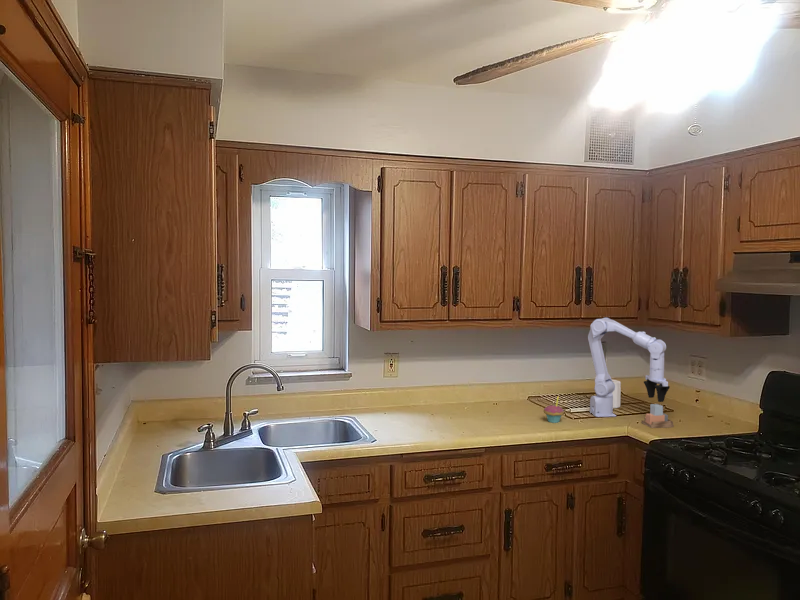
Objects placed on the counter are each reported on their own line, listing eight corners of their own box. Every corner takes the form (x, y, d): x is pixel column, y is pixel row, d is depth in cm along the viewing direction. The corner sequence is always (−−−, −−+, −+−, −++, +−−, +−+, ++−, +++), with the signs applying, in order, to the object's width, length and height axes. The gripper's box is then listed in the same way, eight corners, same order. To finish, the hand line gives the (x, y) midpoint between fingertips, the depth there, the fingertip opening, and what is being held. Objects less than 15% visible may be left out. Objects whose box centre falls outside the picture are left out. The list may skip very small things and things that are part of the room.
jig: (651, 428, 247) (651, 422, 247) (641, 422, 255) (641, 417, 255) (673, 427, 248) (673, 422, 248) (663, 422, 256) (663, 417, 256)
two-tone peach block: (649, 424, 250) (650, 415, 249) (645, 421, 253) (645, 413, 253) (667, 423, 250) (668, 415, 250) (663, 421, 254) (663, 413, 254)
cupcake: (563, 419, 261) (564, 392, 260) (563, 424, 253) (564, 397, 252) (543, 418, 263) (544, 391, 262) (543, 423, 255) (543, 395, 254)
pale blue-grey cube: (654, 415, 250) (654, 406, 249) (650, 413, 253) (650, 404, 253) (662, 415, 250) (663, 406, 250) (658, 413, 254) (658, 404, 253)
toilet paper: (597, 407, 282) (598, 382, 282) (598, 402, 292) (598, 378, 291) (620, 409, 279) (620, 383, 278) (620, 404, 289) (620, 379, 288)
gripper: (675, 371, 246) (674, 403, 247) (656, 365, 260) (655, 395, 261) (659, 371, 245) (658, 403, 246) (641, 365, 260) (640, 395, 261)
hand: (655, 399), depth 254 cm, fingers open, 7 cm apart
